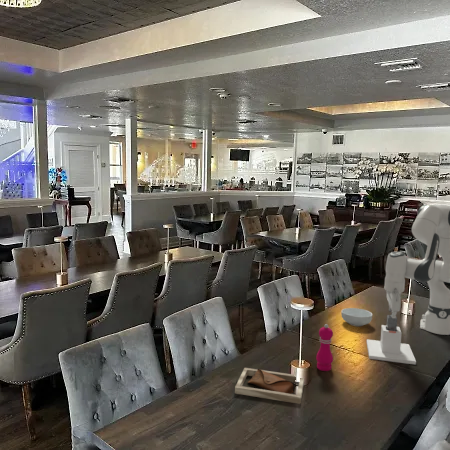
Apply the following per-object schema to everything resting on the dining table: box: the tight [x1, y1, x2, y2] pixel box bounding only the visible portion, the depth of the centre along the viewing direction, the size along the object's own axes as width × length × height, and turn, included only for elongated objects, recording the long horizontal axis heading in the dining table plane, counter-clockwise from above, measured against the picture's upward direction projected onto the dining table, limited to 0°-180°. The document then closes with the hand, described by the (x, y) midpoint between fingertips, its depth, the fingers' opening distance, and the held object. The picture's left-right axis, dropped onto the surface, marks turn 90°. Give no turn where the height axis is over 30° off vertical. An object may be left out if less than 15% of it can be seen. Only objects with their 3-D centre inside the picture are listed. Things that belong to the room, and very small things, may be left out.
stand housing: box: [365, 324, 417, 365], centre depth 198 cm, size 20×20×12 cm
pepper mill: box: [315, 323, 334, 372], centre depth 181 cm, size 7×7×20 cm
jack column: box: [386, 314, 398, 331], centre depth 198 cm, size 4×4×16 cm
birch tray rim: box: [234, 367, 305, 405], centre depth 164 cm, size 17×25×2 cm
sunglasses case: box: [247, 368, 296, 394], centre depth 164 cm, size 18×7×7 cm, turn 51°
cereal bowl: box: [340, 307, 373, 327], centre depth 237 cm, size 17×17×7 cm
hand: (392, 314), depth 197 cm, fingers open, 8 cm apart
